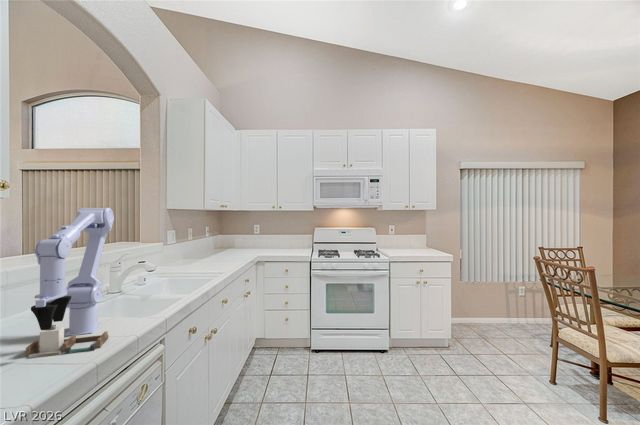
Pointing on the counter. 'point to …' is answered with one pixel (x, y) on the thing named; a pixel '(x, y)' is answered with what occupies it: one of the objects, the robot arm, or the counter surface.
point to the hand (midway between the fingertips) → (52, 325)
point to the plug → (51, 339)
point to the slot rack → (68, 345)
